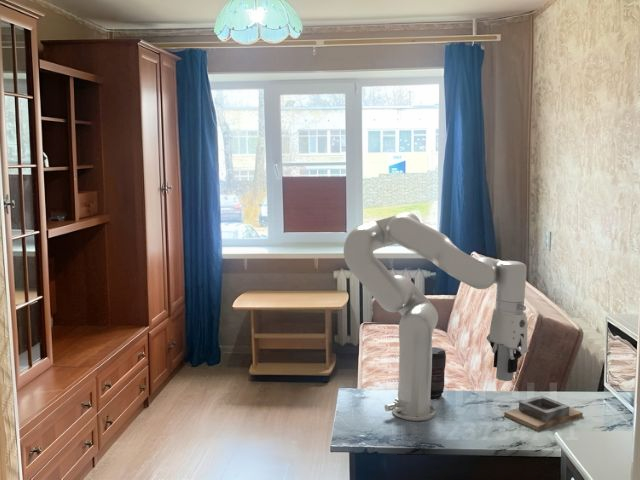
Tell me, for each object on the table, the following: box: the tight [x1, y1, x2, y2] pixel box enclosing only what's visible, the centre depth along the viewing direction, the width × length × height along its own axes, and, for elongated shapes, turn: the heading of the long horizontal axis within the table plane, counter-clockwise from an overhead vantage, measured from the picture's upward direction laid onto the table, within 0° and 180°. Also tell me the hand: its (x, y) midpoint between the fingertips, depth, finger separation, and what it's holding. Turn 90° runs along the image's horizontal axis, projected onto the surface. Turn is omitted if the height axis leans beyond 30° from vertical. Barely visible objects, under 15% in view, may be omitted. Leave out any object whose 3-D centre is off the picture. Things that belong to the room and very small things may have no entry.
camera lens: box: [430, 346, 447, 401], centre depth 214 cm, size 8×8×15 cm
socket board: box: [503, 395, 584, 431], centre depth 200 cm, size 20×12×4 cm, turn 122°
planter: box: [495, 344, 515, 382], centre depth 190 cm, size 4×4×10 cm
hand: (505, 368), depth 191 cm, fingers closed on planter, 4 cm apart
